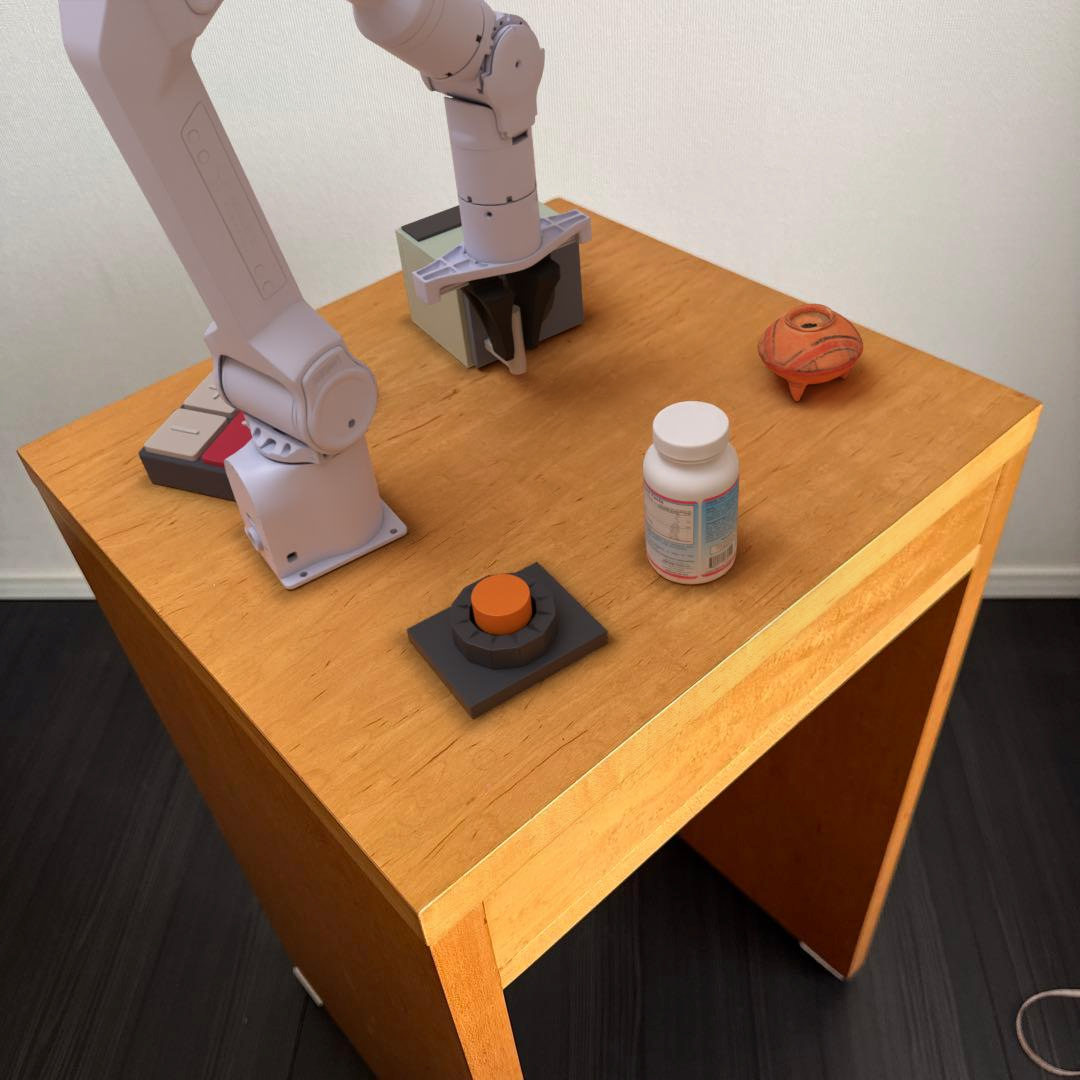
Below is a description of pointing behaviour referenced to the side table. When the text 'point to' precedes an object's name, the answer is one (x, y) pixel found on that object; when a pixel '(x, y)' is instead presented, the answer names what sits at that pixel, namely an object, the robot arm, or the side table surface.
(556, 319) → the washer door
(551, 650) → the block
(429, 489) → the side table surface
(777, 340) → the pot
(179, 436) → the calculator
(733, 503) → the pill bottle
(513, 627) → the button
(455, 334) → the washer
